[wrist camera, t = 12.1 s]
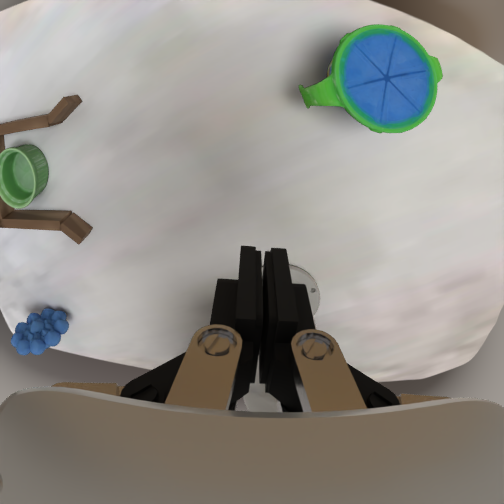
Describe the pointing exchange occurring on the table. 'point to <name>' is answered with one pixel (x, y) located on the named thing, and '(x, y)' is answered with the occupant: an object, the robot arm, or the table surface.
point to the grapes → (39, 332)
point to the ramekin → (22, 175)
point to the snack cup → (379, 79)
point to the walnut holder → (43, 219)
